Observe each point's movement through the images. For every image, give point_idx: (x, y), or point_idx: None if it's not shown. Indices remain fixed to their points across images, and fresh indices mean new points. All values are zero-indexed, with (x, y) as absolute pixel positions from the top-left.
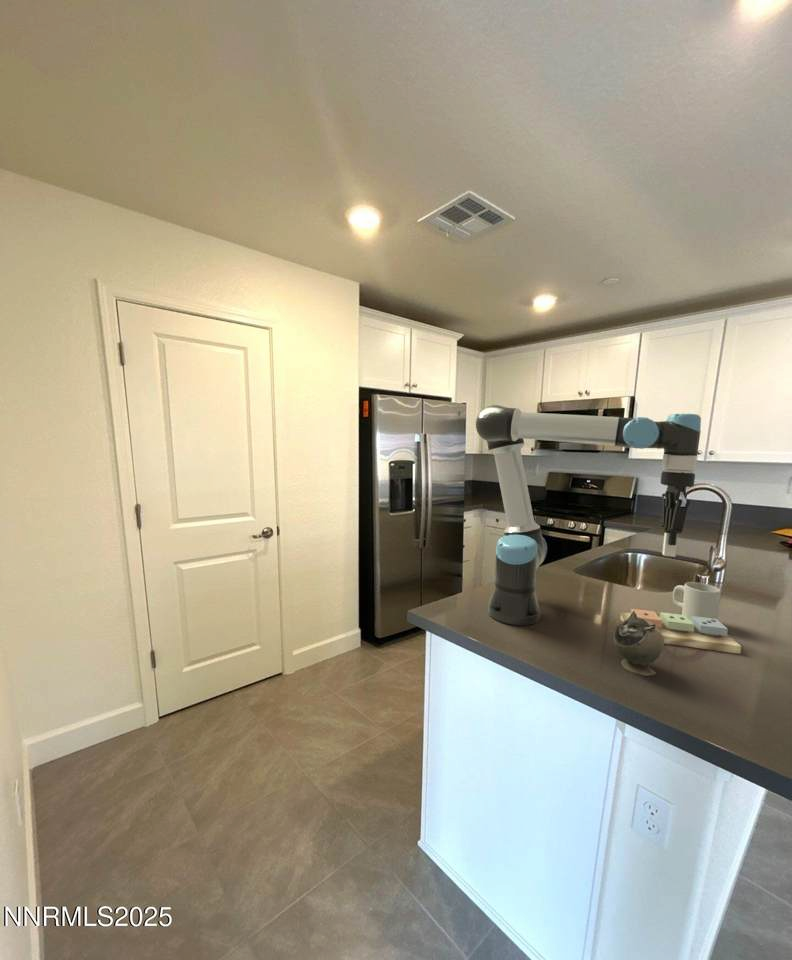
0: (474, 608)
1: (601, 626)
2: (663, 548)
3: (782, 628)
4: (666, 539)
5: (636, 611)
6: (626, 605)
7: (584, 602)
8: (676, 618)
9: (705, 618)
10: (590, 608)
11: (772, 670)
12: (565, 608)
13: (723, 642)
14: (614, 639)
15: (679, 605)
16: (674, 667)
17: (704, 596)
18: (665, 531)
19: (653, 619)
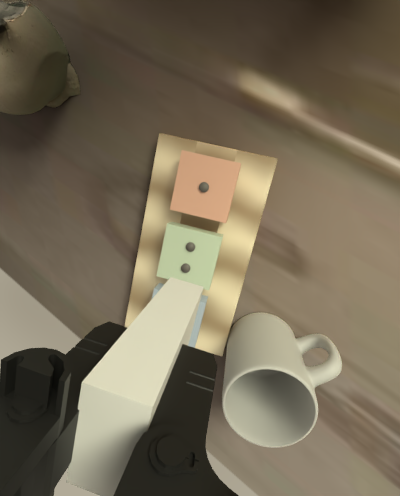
0: None
1: (224, 83)
2: (185, 301)
3: (244, 481)
4: (121, 336)
5: (221, 170)
6: (368, 225)
7: (396, 97)
8: (186, 255)
9: (194, 327)
10: (345, 99)
11: (83, 327)
12: (345, 9)
13: (134, 305)
14: (17, 1)
15: (304, 337)
16: (62, 160)
17: (227, 374)
18: (26, 359)
19: (174, 190)
